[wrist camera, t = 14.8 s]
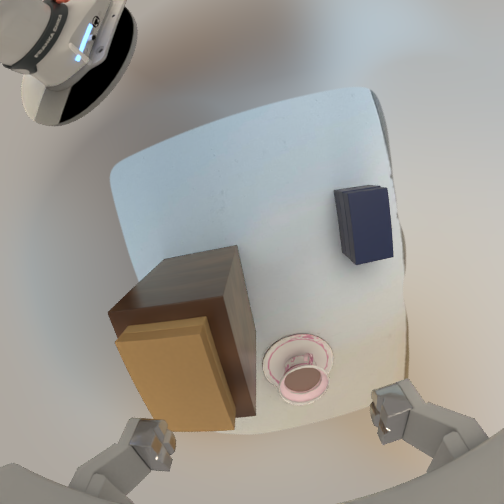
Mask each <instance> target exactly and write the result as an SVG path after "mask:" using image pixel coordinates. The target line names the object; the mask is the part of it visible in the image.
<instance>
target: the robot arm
mask: <svg viewBox="0 0 504 504" xmlns="http://www.w3.org/2000/svg"><path fill="white" fill-rule="evenodd" d="M126 1H127V0H44V1H41V0H0V63H2V64H3V66H4V67H6V68H9V69H11V70H12V71H15V72H18V73H21V74H25V75H28V74H29V75H31V76H33V77H35V78H36V79H38V80H39V81H40V82H41V83H43V84H44V85H45V87H46V88H47V89H49V90H51V91H61V90H64V89H66V88H68V87H70V86H72V85H73V84H75V83H76V82H77V81H79V80H80V79H81V78H82V77H83V76H84V75H85V74H86V73H87V72H88V71H89V70H90V69H91V68H93V67H95V66H97V65H99V64H101V63H102V62H103V61H104V60H105V59H106V57H107V54H108V51H109V48H110V44H111V41H112V38H113V35H114V33H115V30H116V27H117V24H118V21H119V19H120V16H121V14H122V11H123V9H124V6H125V4H126ZM102 50H103V51H102ZM101 51H102V52H101ZM100 52H101V53H100ZM371 398H372V400H373V402H372V403H371V404H370V414H371V419H372V422H373V424H374V426H376V427H378V432H377V434H378V436H379V438H380V441H381V443H382V445H384V444H387V443H390V442H393V441H396V440H399V439H402V438H403V440H404V441H406V442H407V443H409V444H411V445H412V446H414V447H416V448H417V449H419V450H420V451H422V452H424V453H425V454H427V455H429V456H431V457H432V458H433V460H432V462H431V464H430V466H429V467H428V469H427V473H426V474H424V475H422V476H420V477H417V478H415V479H412V480H410V481H408V482H405V483H403V484H400V485H397V486H395V487H392V488H389V489H386V490H384V491H381V492H377V493H374V494H371V495H368V496H365V497H361V498H358V499H354V500H350V501H346V502H342V503H338V504H504V428H503V429H502V430H501V431H499V432H498V433H496V434H495V435H493V436H492V437H490V438H488V436H487V435H486V433H485V432H484V431H483V429H482V428H481V426H480V425H479V424H478V422H477V421H476V420H475V419H474V418H471V417H468V416H466V415H463V414H460V413H457V412H454V411H451V410H449V409H446V408H443V407H441V406H438V405H435V404H433V403H430V402H428V403H425V401H424V400H423V399H422V397H421V396H420V394H419V393H418V391H417V390H416V388H415V387H414V385H413V384H412V383H411V381H410V380H409V379H408V378H407V379H404V380H401V381H399V382H396V383H393V384H390V385H387V386H384V387H381V388H378V389H374V390H372V393H371ZM167 427H168V424H167V422H166V421H165V420H162V419H145V418H131V419H129V421H128V423H127V425H126V427H125V429H124V431H123V433H122V436H121V438H120V440H119V442H118V444H113V445H112V446H110V447H109V448H107V449H106V450H104V451H103V452H101V453H100V454H98V455H97V456H95V457H94V458H92V459H91V460H89V461H88V462H86V463H84V464H83V465H81V466H80V467H78V469H77V471H76V472H75V475H74V477H73V478H72V480H71V482H70V484H69V486H68V487H66V486H64V485H61V484H59V483H56V482H54V481H52V480H49V479H47V478H45V477H43V476H40V475H38V474H36V473H34V472H32V471H30V470H28V469H26V468H24V467H22V466H20V465H18V464H15V463H11V464H8V465H5V466H3V467H0V504H134V503H133V502H132V501H131V500H130V499H129V498H128V497H126V495H127V494H128V493H129V492H130V491H131V490H133V489H134V488H135V487H136V486H137V485H138V484H139V483H140V482H141V481H142V480H143V479H144V478H145V477H146V476H147V475H148V474H149V473H150V472H151V470H156V471H170V467H171V464H172V460H173V459H172V458H171V456H170V455H171V454H173V453H174V452H175V448H176V439H175V436H174V434H173V432H172V431H170V430H169V429H167Z"/></svg>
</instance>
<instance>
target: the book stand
mask: <svg viewBox="0 0 504 504" xmlns="http://www.w3.org/2000/svg"><path fill="white" fill-rule="evenodd" d="M108 315H109V318H110V320H111V323H112V325H113V328H114V330H115V333H116V335H117V338H119V336H120V335H121V334H122V333H123V332H124V330H125V329H126V328H127V327H128V326H131V325H140V324H149V323H158V322H166V321H174V320H182V319H189V318H196V317H204V316H206V317H207V320H208V323H209V327H210V330H211V334H212V337H213V340H214V343H215V347H216V350H217V353H218V356H219V359H220V363H221V366H222V369H223V372H224V375H225V378H226V381H227V384H228V387H229V390H230V393H231V396H232V399H233V402H234V404H235V407H236V415H235V418H239V417H249V416H256V330H255V325H254V321H253V316H252V312H251V307H250V303H249V298H248V293H247V289H246V284H245V280H244V275H243V270H242V266H241V261H240V256H239V252H238V247H237V245H235V246H229V247H224V248H219V249H214V250H209V251H203V252H198V253H193V254H188V255H183V256H178V257H173V258H168V259H164V260H163V261H162V262H161V263H159V264H158V265H157V266H156V267H155V268H154V269H153V270H152V271H151V272H150V273H149V274H147V275H146V276H145V277H144V278H143V279H142V280H141V281H140V282H139V283H138V284H137V285H136V286H135V287H134V288H132V289H131V290H130V291H129V292H128V293H127V294H126V295H125V296H124V297H123V298H122V299H121V300H120V301H119V302H118V303H117V304H116V305H115V306H114V307H113V308H112V309H111V310H110V311H108Z"/></svg>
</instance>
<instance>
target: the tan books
mask: <svg viewBox="0 0 504 504" xmlns="http://www.w3.org/2000/svg"><path fill="white" fill-rule="evenodd" d="M115 344H116V346H117V348H118V351H119V353H120V355H121V357H122V360H123V362H124V364H125V365H126V368H127V370H128V372H129V374H130V376H131V378H132V380H133V382H134V384H135V386H136V388H137V390H138V392H139V393H140V395H141V397H142V399H143V401H144V403H145V404H146V406H147V408H148V410H149V411H150V413H151V415H152V417H153V418H154V419H162V420H165V421H166V422H167V424H168V427H167V429H169V430H170V431H172V432H196V431H197V432H198V431H199V432H200V431H224V430H234V428H235V415H236V407H235V404H234V402H233V399H232V396H231V393H230V390H229V387H228V384H227V381H226V378H225V375H224V372H223V369H222V366H221V363H220V359H219V356H218V353H217V350H216V347H215V343H214V340H213V337H212V334H211V330H210V327H209V323H208V320H207V317H206V316H204V317H196V318H189V319H182V320H174V321H166V322H158V323H149V324H140V325H131V326H128V327H127V328H126V329H125V330H124V332H123V333H122V334H121V335H120V336H119V338H118V339H117V340H116V341H115Z"/></svg>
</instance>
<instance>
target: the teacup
mask: <svg viewBox="0 0 504 504" xmlns="http://www.w3.org/2000/svg"><path fill="white" fill-rule="evenodd" d="M333 361H334V357H333V352H332V349H331V348H330V346H329V345H328V343H327V342H326V341H324V340H323V339H321V338H319V337H317V336H314V335H310V334H295V335H292V336H288V337H285V338H283V339H281V340H279V341H278V342H276V343H274V344H273V345H272V347H271V348H270V349H269V350H268V351H267V352H266V355H265V357H264V359H263V372H264V374H265V377H266V378H267V379H268V380H269V382H270V383H271V384H273V385H275V386H276V387H278V388H279V394H280V396H281V398H282V399H283V400H284V401H285V402H287V403H289V404H292V405H297V406H301V405H307V404H310V403H313V402H315V401H316V400H318V399H319V398H320V397H322V396H323V395H324V393H325V392H326V391H327V389H328V387H329V382H330V380H329V375H328V374H329V372H330V370H331V369H332V366H333Z"/></svg>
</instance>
